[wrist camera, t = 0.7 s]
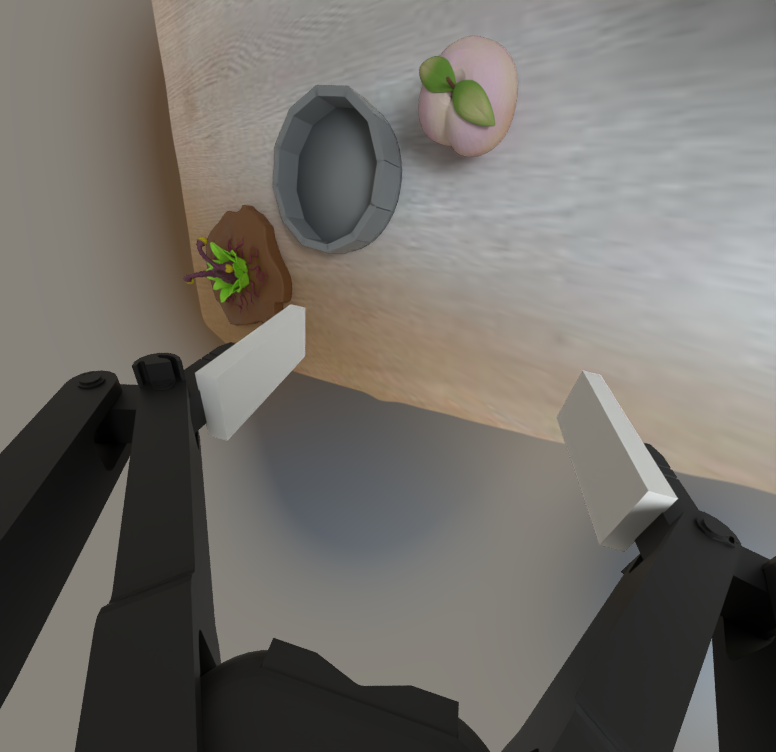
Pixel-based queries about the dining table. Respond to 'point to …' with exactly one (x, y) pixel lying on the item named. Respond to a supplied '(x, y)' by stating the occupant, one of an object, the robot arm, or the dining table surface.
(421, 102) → the decorative fruit
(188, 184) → the dining table surface
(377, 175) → the bowl
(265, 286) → the plant
